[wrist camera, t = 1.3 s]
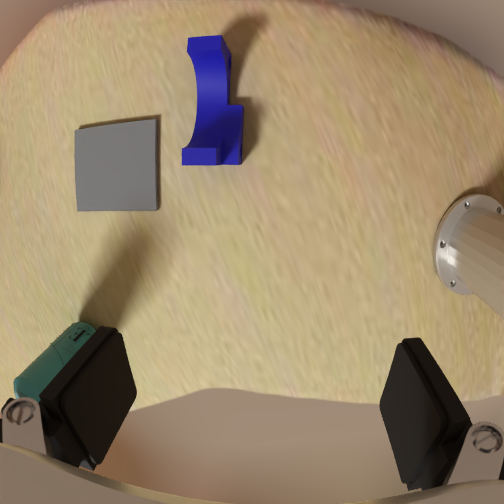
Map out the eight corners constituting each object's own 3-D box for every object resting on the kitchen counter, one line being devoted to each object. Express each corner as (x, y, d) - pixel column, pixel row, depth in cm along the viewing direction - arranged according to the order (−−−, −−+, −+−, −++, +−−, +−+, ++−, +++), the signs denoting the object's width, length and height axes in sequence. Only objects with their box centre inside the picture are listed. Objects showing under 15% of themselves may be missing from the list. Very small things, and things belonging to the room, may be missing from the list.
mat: (157, 119, 30) (155, 119, 29) (158, 209, 33) (156, 210, 32) (77, 130, 31) (74, 130, 30) (80, 210, 34) (77, 211, 33)
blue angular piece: (241, 164, 31) (233, 165, 25) (199, 163, 31) (181, 165, 26) (246, 55, 27) (238, 34, 22) (203, 56, 28) (188, 37, 22)
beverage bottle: (73, 340, 40) (-3, 422, 21) (76, 306, 38) (-15, 389, 19) (108, 360, 40) (39, 454, 22) (114, 327, 38) (31, 426, 19)
